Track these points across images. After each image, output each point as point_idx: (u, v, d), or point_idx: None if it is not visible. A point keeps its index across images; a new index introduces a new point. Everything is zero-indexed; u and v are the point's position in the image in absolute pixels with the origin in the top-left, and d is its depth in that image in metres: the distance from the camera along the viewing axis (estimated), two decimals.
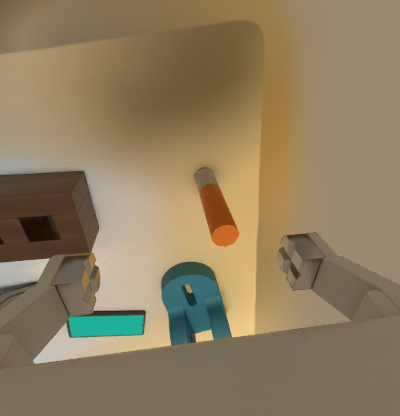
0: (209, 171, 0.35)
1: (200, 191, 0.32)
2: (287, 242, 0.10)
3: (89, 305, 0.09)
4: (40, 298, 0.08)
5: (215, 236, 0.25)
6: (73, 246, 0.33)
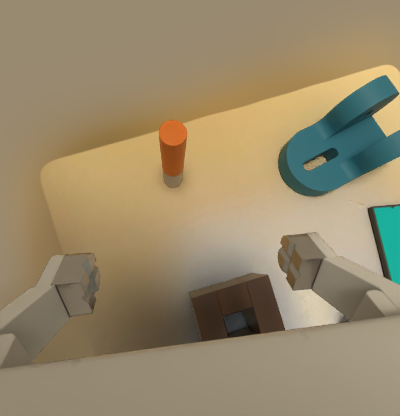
0: None
1: (172, 176, 0.33)
2: (287, 242, 0.10)
3: (89, 305, 0.09)
4: (40, 298, 0.08)
5: (174, 142, 0.24)
6: (259, 293, 0.30)
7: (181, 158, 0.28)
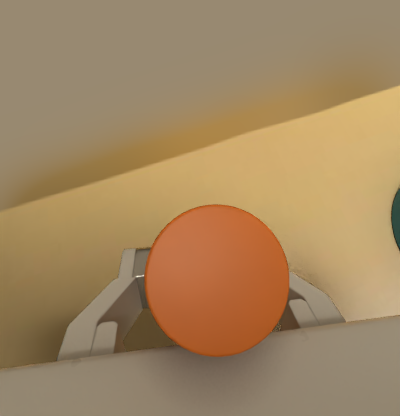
0: None
1: None
2: None
3: None
4: (126, 289, 0.08)
5: (231, 336, 0.04)
6: None
7: None
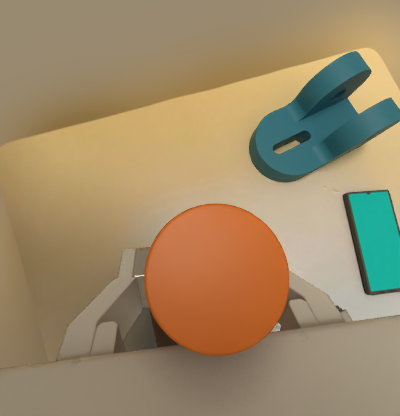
0: None
1: None
2: None
3: None
4: (126, 289, 0.08)
5: (231, 335, 0.04)
6: None
7: None
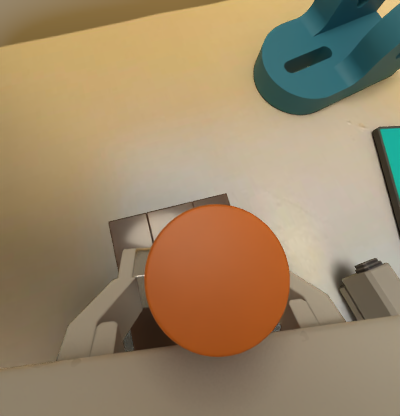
0: None
1: None
2: None
3: None
4: (126, 289, 0.08)
5: (231, 335, 0.04)
6: None
7: None
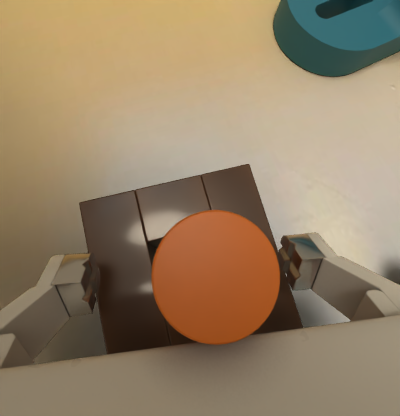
0: None
1: None
2: (287, 242, 0.10)
3: (89, 305, 0.09)
4: (40, 298, 0.08)
5: (227, 326, 0.05)
6: (229, 197, 0.14)
7: None
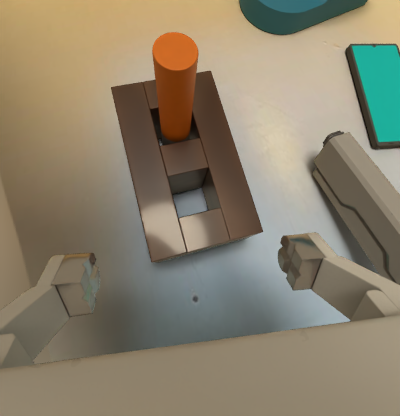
0: None
1: (174, 141, 0.23)
2: (287, 242, 0.10)
3: (89, 305, 0.09)
4: (40, 298, 0.08)
5: (178, 65, 0.15)
6: (198, 88, 0.24)
7: (188, 105, 0.19)
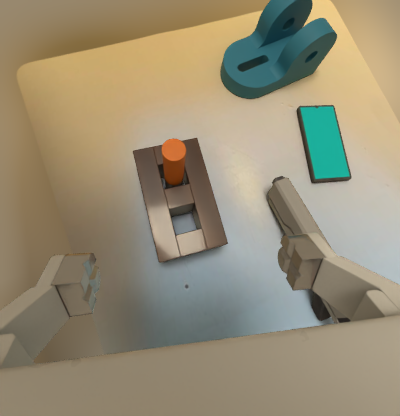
0: None
1: (173, 185, 0.37)
2: (287, 242, 0.10)
3: (89, 305, 0.09)
4: (40, 298, 0.08)
5: (175, 158, 0.28)
6: (188, 150, 0.37)
7: (181, 170, 0.32)
